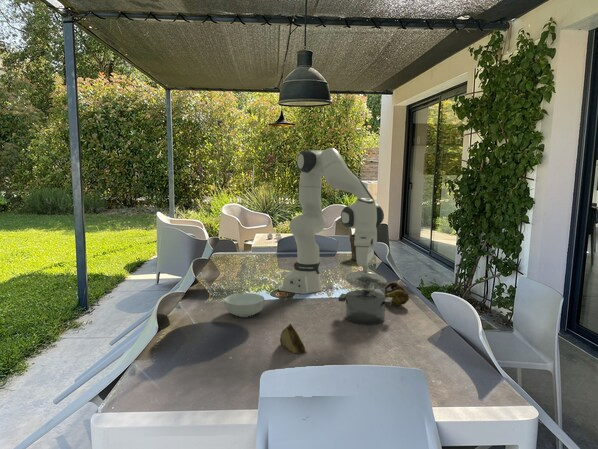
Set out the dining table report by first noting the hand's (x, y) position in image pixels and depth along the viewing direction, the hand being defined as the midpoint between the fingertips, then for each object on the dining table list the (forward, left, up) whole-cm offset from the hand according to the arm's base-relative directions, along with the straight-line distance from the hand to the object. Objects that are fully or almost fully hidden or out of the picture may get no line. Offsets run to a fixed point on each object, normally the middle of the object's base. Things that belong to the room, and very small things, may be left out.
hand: (365, 272), depth 181 cm
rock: (-19, -36, -20) cm, 46 cm away
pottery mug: (+8, +36, -20) cm, 42 cm away
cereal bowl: (-50, -8, -20) cm, 55 cm away
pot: (0, +2, -20) cm, 20 cm away
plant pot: (-22, +117, -20) cm, 121 cm away
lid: (0, +3, -5) cm, 6 cm away
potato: (+10, +23, -20) cm, 32 cm away
